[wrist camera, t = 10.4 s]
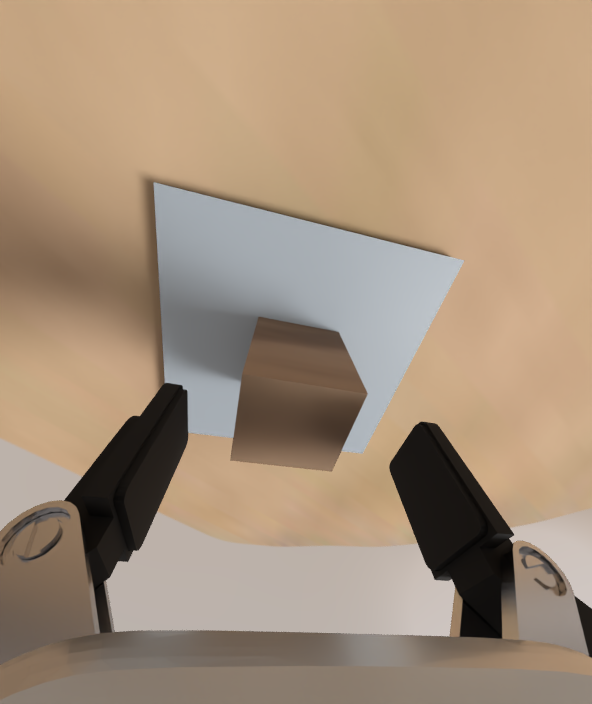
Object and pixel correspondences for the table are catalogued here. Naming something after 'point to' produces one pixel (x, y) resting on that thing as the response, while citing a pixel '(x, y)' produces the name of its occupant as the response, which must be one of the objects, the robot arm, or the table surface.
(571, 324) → the table surface
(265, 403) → the walnut block
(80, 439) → the table surface
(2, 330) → the table surface
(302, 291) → the slate board
